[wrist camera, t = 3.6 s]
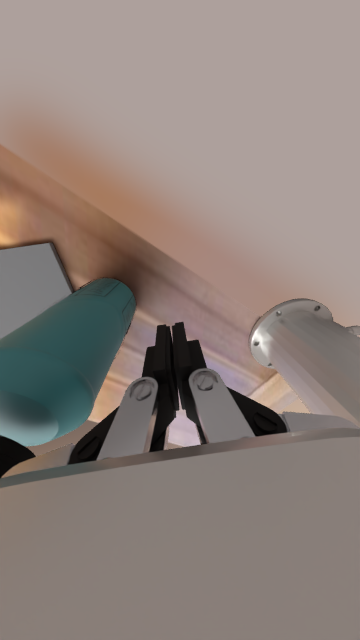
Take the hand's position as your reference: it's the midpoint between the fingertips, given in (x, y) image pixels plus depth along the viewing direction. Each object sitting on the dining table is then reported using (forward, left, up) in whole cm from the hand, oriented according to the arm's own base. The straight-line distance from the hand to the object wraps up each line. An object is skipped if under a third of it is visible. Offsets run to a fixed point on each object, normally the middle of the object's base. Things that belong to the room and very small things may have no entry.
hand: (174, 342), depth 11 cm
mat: (+20, 0, -13) cm, 24 cm away
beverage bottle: (+8, 0, -13) cm, 15 cm away
